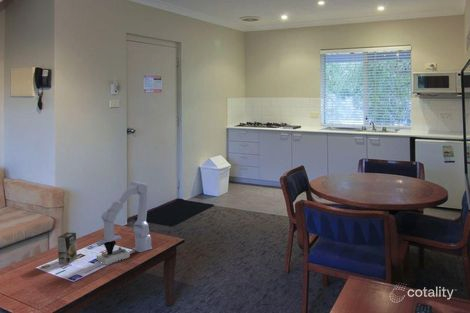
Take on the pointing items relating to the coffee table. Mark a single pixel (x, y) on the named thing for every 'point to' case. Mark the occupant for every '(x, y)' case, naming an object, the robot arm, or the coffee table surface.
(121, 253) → the latch block
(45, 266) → the coffee table surface
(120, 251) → the strap
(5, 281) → the coffee table surface
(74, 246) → the coffee box
